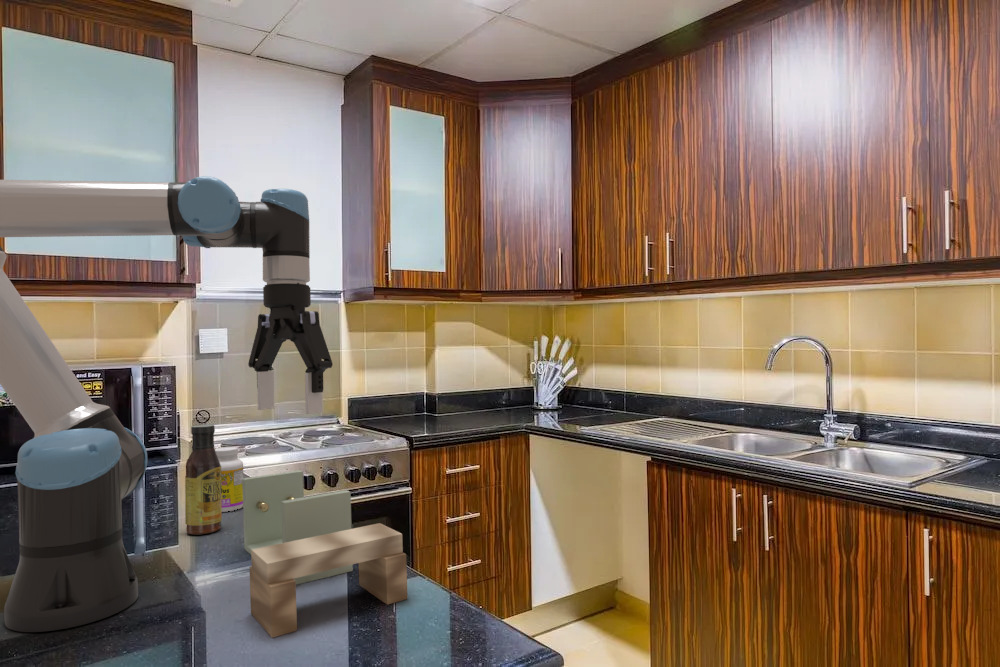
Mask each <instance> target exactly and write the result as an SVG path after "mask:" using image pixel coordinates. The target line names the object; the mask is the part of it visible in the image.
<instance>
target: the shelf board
mask: <svg viewBox="0 0 1000 667" xmlns="http://www.w3.org/2000/svg"><path fill="white" fill-rule="evenodd" d="M403 549H404V546H403V533H401V532H400V531H398V530H395V529H393V528H391V527H389V526H386V525H385V524H383V523H380V522H379V523H373V524H368V525H364V526H360V527H359V526H358V527H354V528H353V527H352V529H349V530H344V531H339V532H334V533H329V534H324V535H320V536H315V537H310V538H305V539H300V540H295V541H291V542H286V543H281V544H276V545H271V546H266V547H261V548H257V549H252V550H251V554H250V556H251V558H250V559H251V567H252V570H253V571H254V572H255V573H256V574H257V575H258V576H259V577H260V578H261V579H263V580H264V581H265V582H266V583H267V584H268V585H269V584H273V583H277V582H281V581H285V580H290V579H294V578H298V577H302V576H306V575H310V574H315V573H319V572H323V571H327V570H331V569H335V568H340V567H344V566H348V565H352V564H353V565H355V564H359V563H360V562H365V561H369V560H373V559H377V558H381V557H385V556H390V555H394V554H398V553H402V552H403V551H404V550H403ZM403 553H404V552H403Z"/></svg>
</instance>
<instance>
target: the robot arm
mask: <svg viewBox="0 0 1000 667" xmlns="http://www.w3.org/2000/svg"><path fill="white" fill-rule="evenodd" d="M261 193H262V194H261V198H260V201H255V202H254V201H252V202H249V201H239V198H238V196H237V194H236V192H235V191H234V190H233V188H231V187H230V186H229V185H228V184H227V183H225V182H224V181H222V180H221V179H219V178H217V177H215V176H206V175H205V176H204V175H203V176H198V177H197V176H196V177H194V178H191V179H190V180H188V181H186V182H184V181H183V182H181V181H179V182H178V181H177V182H175V181H174V182H173V181H172V182H169V181H115V180H113V181H112V180H111V181H110V180H108V181H107V180H106V181H105V180H104V181H103V180H98V181H97V180H51V179H49V180H47V179H45V180H44V179H43V180H41V179H39V180H38V179H0V238H46V237H47V238H48V237H49V238H51V237H52V238H53V237H54V238H55V237H57V238H58V237H59V238H60V237H66V238H67V237H128V236H129V237H131V236H132V237H133V236H137V237H138V236H140V237H141V236H143V237H144V236H145V237H146V236H147V237H148V236H150V237H151V236H179V237H180V236H181V237H182V240H183V242H184V244H185V245H187V246H188V247H199V248H204V249H211V248H245V249H246V248H252V249H262V281H263V282H265V283H266V284H264V286H263V287H262V292H263V293H262V294H263V297H262V299H263V306H264V307H265V308H267V309H270V311H269V313H268V314H267V313H259V314H258V316H257V328H256V332H255V335H254V340H253V344H252V348H251V352H250V355H249V359H248V362H247V365H248V367H249V368H253V369H254V371H255V372H256V387H257V388H256V389H257V410H259V411H262V410H272V409H275V382H274V381H275V376H274V375H275V374H274V373H275V371H274V368H273V364H274V362H275V360H276V358H277V355H278V354H279V351H280V349H281V348H282V344H283V343H284V342H286V341H287V340H288V341H290V342H292V343H293V344H294V345H295V347H296V349H297V352H298V353H299V355H300V357H301V358H302V360H303V363H304V365H305V366H306V369H305V371H304V372H305V373H304V383H305V384H304V388H305V389H304V391H305V392H304V394H305V396H304V398H305V402H304V403H305V415H312V414H313V415H315V414H320V413H321V414H323V411H324V410H323V404H324V403H323V392H324V372H325V371H326V370H328V369H331V368H332V367H333V360H332V357H331V355H330V352H329V348H328V346H327V343H326V339H325V337H324V333H323V331H322V330H323V329H322V328H321V324H320V314H319V312H318V311H316V310H312V311H311V310H310V311H309V310H306V308H309V307H310V306H311V287H310V285H308V284H307V283H309V282H310V281H311V277H310V276H311V275H310V274H311V272H310V270H311V269H310V254H311V252H310V213H309V212H310V211H309V200H308V197H307V195H306V194H305V193H303V192H301V191H299V190H297V189H289V188H270V189H267V190H264V191H262V192H261ZM6 260H7V254H6V252H5V251H4V249H3V247H2V246H1V245H0V386H1V387H2V389H3V390H4V392H5V393H6V394H7V396H8V397H9V399H10V401H12V403H13V404H14V406H15V407H16V408H17V410H18V412H19V413H20V415H21V416H22V417H23V419H24V420H25V422H26V423H27V425H29V428H31V430H32V432H33V433H34V436H33V437H32V439H29V440H27V441H26V442H24V443H23V444H22V445H21V447H20V448H19V450H18V452H17V464H16V467H15V472H14V474H15V477H16V483H17V485H16V486H17V487H16V488H17V510H18V511H17V512H18V514H17V515H18V541H19V542H18V543H19V561H18V565H17V568H16V570H15V574H14V577H13V580H12V583H11V586H10V587H9V588H10V589H9V592H8V595H7V598H6V600H5V603H4V608H3V610H4V611H3V612H4V614H3V615H4V626H5V627H6V628H7V629H8V630H11V631H15V632H21V633H42V632H51V631H52V632H53V631H59V630H65V629H70V628H75V627H79V626H83V625H87V624H91V623H94V622H96V621H100V620H103V619H106V618H109V617H111V616H113V615H116V614H118V613H120V612H122V611H123V610H125V609H127V608H129V607H130V606H131V605H133V604H134V603H135V602H136V601H137V600H138V598H139V580H138V577H137V574H136V572H135V570H134V567H133V565H132V563H131V560H130V557H129V555H128V553H127V551H126V548H125V546H124V542H123V520H122V519H123V518H122V517H123V516H122V515H123V514H122V512H123V511H122V501H123V500H124V499H125V498H126V497H129V496H130V495H131V494H132V493H133V492H134V491H135V490H136V489H137V488H138V486H140V484H141V482H142V480H143V478H144V475H145V473H146V471H147V466H148V451H147V448H146V446H145V444H144V442H143V440H142V439H141V438H140V437H139V436H138V435H137V434H136V433H135V432H134V431H132V430H130V429H129V428H127V427H124V425H123V424H122V422H121V421H120V420H119V418H118V417H117V416H116V414H115V412H114V410H113V409H112V408H111V407H110V406H109V405H105V404H99V403H97V402H94V401H93V400H92V398H91V397H90V395H89V394H88V393H87V391H86V390H85V388H84V387H83V385H82V383H81V382H80V381H79V379H78V378H77V377H76V375H75V374H74V372H73V370H72V369H71V368H70V366H69V365H68V363H67V362H66V360H65V358H64V357H63V356H62V354H61V353H60V352H59V349H57V347H56V346H55V345H54V343H53V341H52V339H50V337H49V335H48V334H47V332H46V331H45V329H43V328H44V327H42V325H41V324H40V322H39V321H38V320H37V318H36V317H35V315H34V314H33V312H32V311H31V309H30V307H29V306H28V305H27V303H26V302H25V301H24V298H22V296H21V295H20V293H19V291H18V290H17V289H16V287H15V286H14V284H13V283H12V281H11V280H10V278H9V277H8V275H7V274H6V272H5V270H4V266H5V263H6Z"/></svg>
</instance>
